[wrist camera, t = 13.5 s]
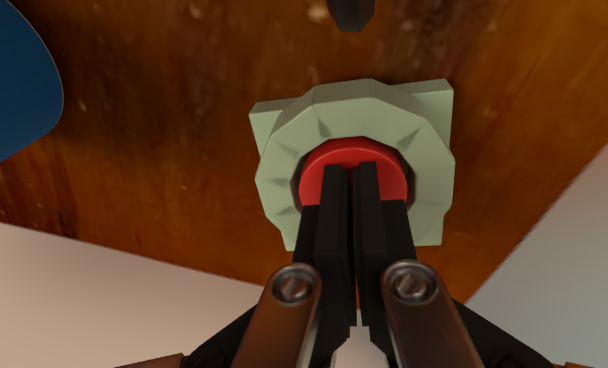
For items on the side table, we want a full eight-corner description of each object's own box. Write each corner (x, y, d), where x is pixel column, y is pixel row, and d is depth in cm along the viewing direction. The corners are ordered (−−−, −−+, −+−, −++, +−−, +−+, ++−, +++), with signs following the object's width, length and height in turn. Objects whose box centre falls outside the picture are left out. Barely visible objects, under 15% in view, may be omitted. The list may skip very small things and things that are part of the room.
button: (296, 129, 12) (289, 153, 11) (400, 117, 11) (407, 142, 10) (312, 207, 14) (307, 237, 13) (401, 202, 13) (407, 232, 12)
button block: (250, 83, 13) (226, 114, 10) (447, 55, 11) (473, 84, 9) (289, 234, 17) (279, 282, 14) (435, 227, 16) (451, 278, 13)
